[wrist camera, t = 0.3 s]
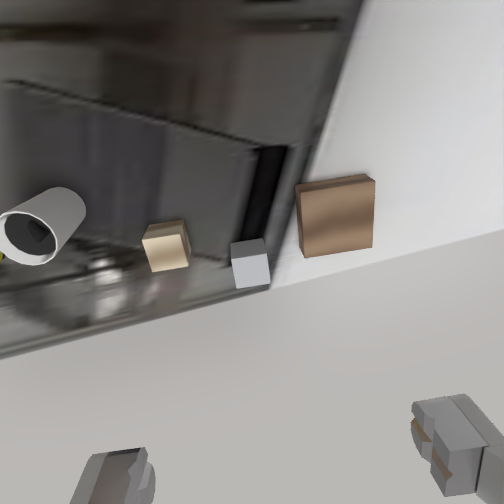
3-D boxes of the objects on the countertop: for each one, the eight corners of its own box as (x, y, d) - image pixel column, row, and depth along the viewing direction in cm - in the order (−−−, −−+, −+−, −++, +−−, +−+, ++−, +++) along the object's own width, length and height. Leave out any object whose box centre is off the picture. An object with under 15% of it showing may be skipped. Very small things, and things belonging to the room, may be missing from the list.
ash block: (149, 224, 47) (141, 240, 42) (183, 219, 47) (179, 234, 42) (158, 254, 49) (152, 272, 45) (191, 249, 49) (188, 266, 45)
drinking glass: (55, 173, 42) (11, 198, 33) (99, 207, 45) (70, 239, 36) (27, 207, 44) (-21, 239, 35) (71, 238, 47) (37, 275, 38)
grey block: (230, 243, 49) (231, 259, 45) (262, 238, 49) (266, 253, 45) (235, 270, 52) (236, 288, 47) (266, 265, 52) (270, 283, 47)
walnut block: (294, 184, 46) (300, 192, 43) (363, 173, 46) (375, 181, 43) (298, 245, 51) (304, 258, 47) (361, 235, 51) (372, 247, 47)
